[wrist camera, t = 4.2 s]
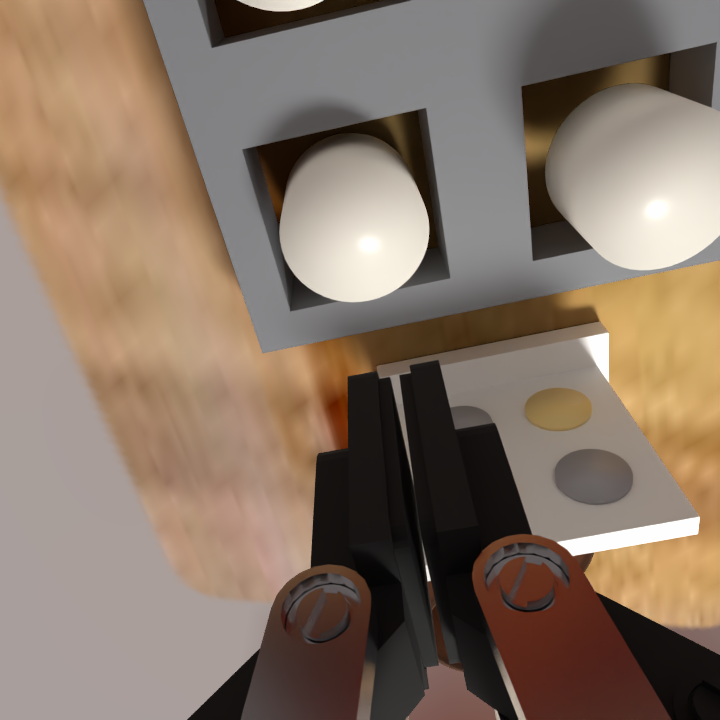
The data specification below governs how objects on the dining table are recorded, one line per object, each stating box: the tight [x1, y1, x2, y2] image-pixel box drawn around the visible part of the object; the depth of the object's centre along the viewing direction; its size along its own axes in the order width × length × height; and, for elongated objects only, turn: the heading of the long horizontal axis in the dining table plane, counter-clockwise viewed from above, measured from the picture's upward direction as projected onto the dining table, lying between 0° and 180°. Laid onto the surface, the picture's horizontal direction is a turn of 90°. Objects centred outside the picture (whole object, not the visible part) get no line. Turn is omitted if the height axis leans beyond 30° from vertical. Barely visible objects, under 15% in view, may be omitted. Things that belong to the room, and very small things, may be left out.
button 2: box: [545, 83, 720, 270], centre depth 20 cm, size 5×5×4 cm
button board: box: [143, 0, 720, 353], centre depth 20 cm, size 18×18×3 cm
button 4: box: [279, 133, 429, 302], centre depth 22 cm, size 5×5×4 cm
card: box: [376, 321, 700, 581], centre depth 25 cm, size 10×3×10 cm, turn 102°
